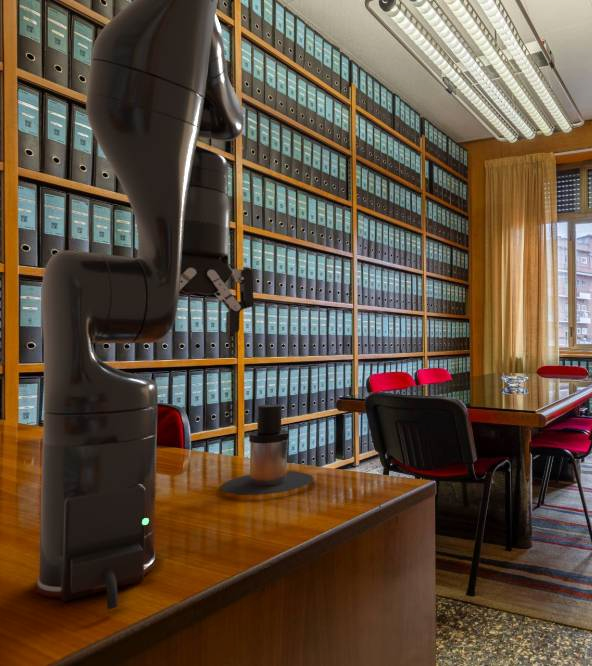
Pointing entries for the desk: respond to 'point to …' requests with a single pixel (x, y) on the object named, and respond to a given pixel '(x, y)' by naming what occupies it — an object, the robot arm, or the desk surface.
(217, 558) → the desk surface
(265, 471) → the steel travel mug
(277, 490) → the disc
